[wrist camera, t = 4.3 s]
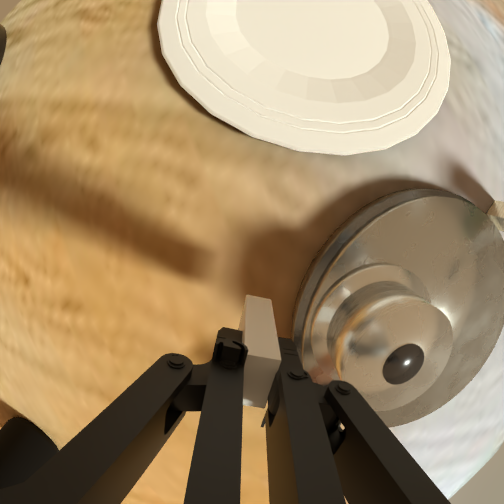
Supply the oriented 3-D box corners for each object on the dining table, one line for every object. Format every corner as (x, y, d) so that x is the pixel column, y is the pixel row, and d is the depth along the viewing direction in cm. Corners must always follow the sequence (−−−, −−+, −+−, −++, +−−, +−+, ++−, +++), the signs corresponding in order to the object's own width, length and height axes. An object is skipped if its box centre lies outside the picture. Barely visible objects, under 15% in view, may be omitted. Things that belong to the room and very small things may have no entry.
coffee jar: (3, 414, 28) (-48, 477, 10) (30, 412, 27) (-29, 491, 9) (42, 459, 30) (4, 525, 12) (76, 462, 29) (35, 543, 11)
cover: (332, 248, 19) (363, 273, 13) (440, 276, 19) (485, 300, 14) (293, 371, 21) (304, 422, 15) (397, 380, 21) (424, 420, 16)
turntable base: (337, 131, 20) (382, 105, 12) (518, 215, 21) (571, 227, 13) (261, 405, 25) (264, 470, 17) (441, 409, 26) (470, 449, 18)
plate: (282, -82, 14) (284, -92, 12) (471, 50, 17) (481, 45, 15) (106, 49, 18) (97, 41, 16) (342, 225, 22) (350, 229, 20)
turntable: (479, 157, 18) (524, 156, 13) (505, 346, 22) (533, 368, 17) (212, 296, 20) (199, 334, 15) (319, 458, 25) (328, 497, 19)
